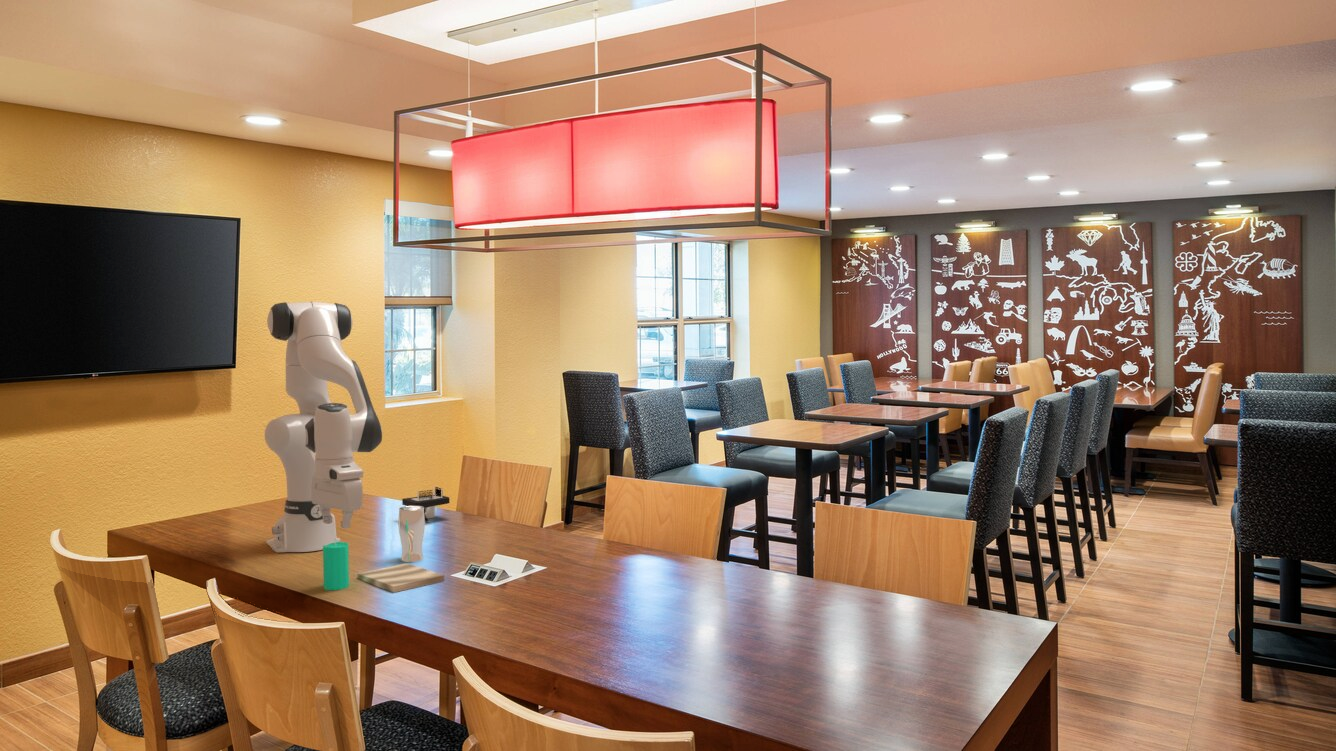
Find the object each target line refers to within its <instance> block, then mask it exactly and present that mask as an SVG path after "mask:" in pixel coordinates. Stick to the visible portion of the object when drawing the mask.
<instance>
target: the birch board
mask: <svg viewBox="0 0 1336 751" xmlns="http://www.w3.org/2000/svg"><path fill="white" fill-rule="evenodd" d="M357 579H358V580H361V581H364V582H365V583H368V584H371V585H373V586H375V587H378V588H380V589H383V590H386V591H388V592H390V593H393V594H394V593H397V592H402V591H406V590H411V589H415V588H419V587H420V588H421V587H425V586H429V585H433V584H437V583H441V582H445V575H444V574H442V573H438V572H435V571H432V570H429V569H426V568H423V567H420V566H418V565H413V564H410V563H408V562H405V563H402V564H396V565H391V566H387V567H383V568H378V569H374V570H368V571H363V572H357Z"/></svg>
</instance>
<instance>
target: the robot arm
mask: <svg viewBox="0 0 1336 751" xmlns="http://www.w3.org/2000/svg"><path fill="white" fill-rule="evenodd" d="M266 323H267V327H268V330H269V332H270V335H271V337H273V338H274V339H276V340H279V341H285V342H286V341H287V344H286V352H285V392H286V394H287V395H288V396H290V397H291V398H292V399H293V400H295V401H296V403H297V406H298V410H299V413H290V414H285V415H281V416H279V417H276V418H274V419H272V420H270V421H269V422H268V423H267V425H266V427H265V430H264V441H265V443H266V445H267V447H268V448H269V450H271V451H272V452H274V453H275V454H276V455H277V456H278V457H279V459H280V461H281V463H282V465H283V468H284V473H285V477H286V496H287V497H286V499H285V503H284V510H283V512H284V514H282V515H281V517H280V518H279V519H278V520H277V521H276V523H275V524H274V526H272V527H271V535H273V536H274V538H271V539H267V540H266V541H265V543H266V542H267V543H268V544H269V545H270V546H271V547H272V550H273V552H275V553H308V552H316V551H323V545H328V544H330V543H335V539H336V542H339V541H340V542H342V541H341V538H340V537H337V530H336V517H335V515H334V514H333V513H332V512H331V509H334V510H335V509H336V510H340V511H341V514H342V519H341V520H340V527H341V528H342V529H350V528H351V526H352V525H351V520H352V517H353V515H354V512H355V511H359V510H361V508H362V507H363V503H364V500H363V498H364V496H363V494H364V491H363V481H362V480H361V479H362V478H364V470H363V468H362V467H360V466H359V465H358V463H356V462H355V461H354V454H353V453H354V452H355V453H356V452H357V453H371V452H373V451H374V450H375V449H376V448H378V447H379V445H381V443H382V442H383V428H382V425H381V422H380V419H379V417H378V415H377V413H376V411H375V408H374V405H373V403H372V401H371V396H370V395H369V391H368V388H367V385H366V382H365V380H364V377H363V374H362V371H361V369H360V367H359V365H358V363H357V362H356V361H354V360H353V359H351V358H350V357H348V356H347V354H346V353H345V351H344V350H343V347H342V341H343V340H345V339H346V338H347V337H349V336H350V334H351V331H352V328H353V323H354V320H353V316H352V312H351V310H350V308H349V306H347V305H345V304H342V303H338V302H337V303H336V302H334V303H330V302H324V301H322V302H320V301H309V302H308V301H303V302H289V303H288V302H278V303H275V304H273V305H272V306H271V307H270V310H269V312H268V315H267V319H266ZM328 382H331V383H334V384H336V385H339V386H341V387H342V388H344V389H345V390H347V391H348V393H349V396H350V399H351V402H352V405H353V408H354V410H355V413H354V414H351V413H350V412H351V411H350V408H349V406H348V405H347V404H344V403H338V402H332V401H331V399H330V395H329V387H328ZM267 543H266V544H267Z"/></svg>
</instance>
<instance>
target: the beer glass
mask: <svg viewBox="0 0 1336 751" xmlns="http://www.w3.org/2000/svg"><path fill="white" fill-rule="evenodd" d="M397 524H398V533H399V538H400V545H401V558H400V561H402V562H405V563H408V562H409V563H410V562H419V561H421V560H423V559H424V555H423V541H424V535H425V525H426V523H425V516H424V507H423V506H405V505H404V506H401V507H399V508H398V523H397Z"/></svg>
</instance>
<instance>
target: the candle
mask: <svg viewBox="0 0 1336 751" xmlns="http://www.w3.org/2000/svg"><path fill="white" fill-rule="evenodd" d="M349 552H350V551H349V542H345V541H340V542H336V539H335V543H330V544H328V545H323V550H322V559H323V560H322V563H323V565H322V568H323V589H324V590H327V591H337V590H344V589H346V588H348V587H349V586H350V573H349V572H350V569H349V568H350V566H349V565H350V563H349V562H350V560H349Z"/></svg>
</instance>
